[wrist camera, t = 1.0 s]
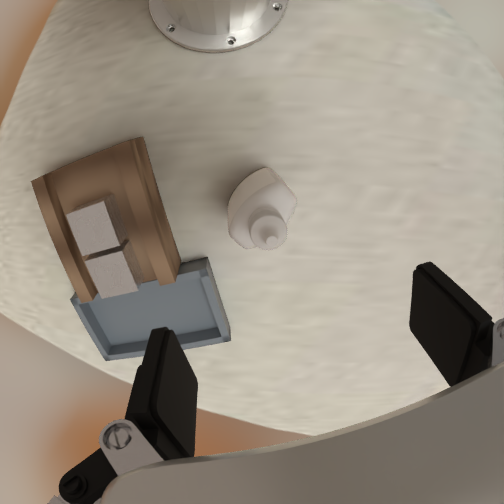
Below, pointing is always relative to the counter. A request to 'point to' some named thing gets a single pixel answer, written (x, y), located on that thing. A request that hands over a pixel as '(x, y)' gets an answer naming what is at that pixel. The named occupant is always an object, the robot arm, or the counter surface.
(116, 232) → the chip
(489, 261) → the counter surface
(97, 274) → the chip
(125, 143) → the slot block
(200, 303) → the tray
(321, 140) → the counter surface
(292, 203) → the eye dropper bottle
